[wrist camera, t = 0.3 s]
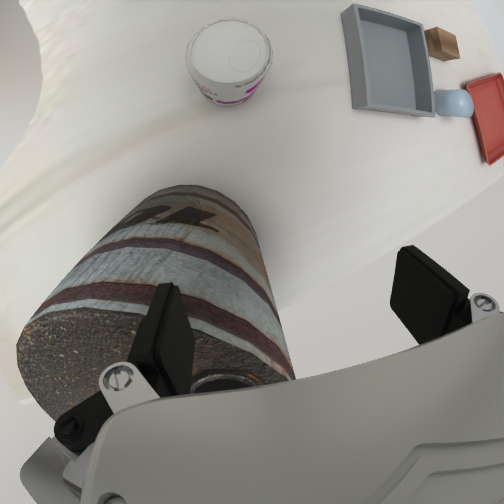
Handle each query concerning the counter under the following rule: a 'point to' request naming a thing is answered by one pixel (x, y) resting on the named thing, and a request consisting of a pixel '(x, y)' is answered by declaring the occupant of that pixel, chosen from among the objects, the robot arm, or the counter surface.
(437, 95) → the blue cylinder
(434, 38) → the walnut cube
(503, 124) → the plant saucer
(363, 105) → the tote
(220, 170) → the counter surface
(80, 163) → the counter surface
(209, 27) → the supplement can
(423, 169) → the counter surface
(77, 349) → the barrel
